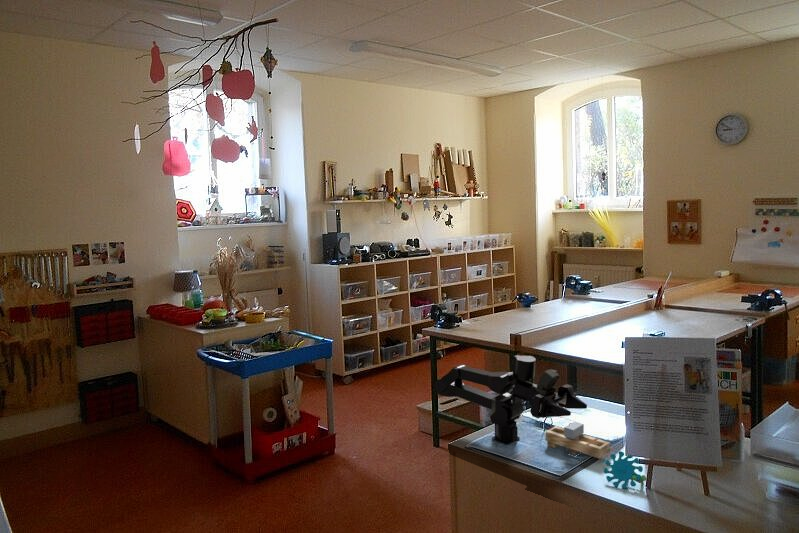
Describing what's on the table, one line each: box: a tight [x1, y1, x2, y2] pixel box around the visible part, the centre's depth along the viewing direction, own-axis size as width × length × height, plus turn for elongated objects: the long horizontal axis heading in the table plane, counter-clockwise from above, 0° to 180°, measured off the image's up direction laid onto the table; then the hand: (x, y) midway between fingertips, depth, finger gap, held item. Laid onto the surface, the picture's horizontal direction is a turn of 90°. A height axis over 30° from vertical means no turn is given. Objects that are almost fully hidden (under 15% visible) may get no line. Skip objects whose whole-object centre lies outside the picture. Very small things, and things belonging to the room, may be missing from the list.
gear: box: [603, 450, 648, 490], centre depth 161 cm, size 11×6×10 cm
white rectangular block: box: [563, 421, 585, 440], centre depth 180 cm, size 3×6×4 cm, turn 133°
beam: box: [544, 425, 611, 459], centre depth 180 cm, size 18×6×5 cm, turn 43°
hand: (578, 410), depth 170 cm, fingers open, 9 cm apart
